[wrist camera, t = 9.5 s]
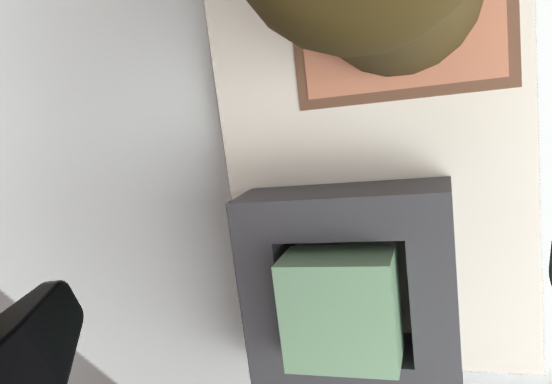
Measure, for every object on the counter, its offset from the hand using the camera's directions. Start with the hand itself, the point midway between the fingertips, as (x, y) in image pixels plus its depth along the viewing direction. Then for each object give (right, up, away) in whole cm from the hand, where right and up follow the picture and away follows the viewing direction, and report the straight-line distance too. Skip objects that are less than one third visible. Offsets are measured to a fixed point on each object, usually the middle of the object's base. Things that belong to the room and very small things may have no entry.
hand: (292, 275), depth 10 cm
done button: (+2, -2, +10) cm, 11 cm away
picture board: (+3, +4, +11) cm, 12 cm away
